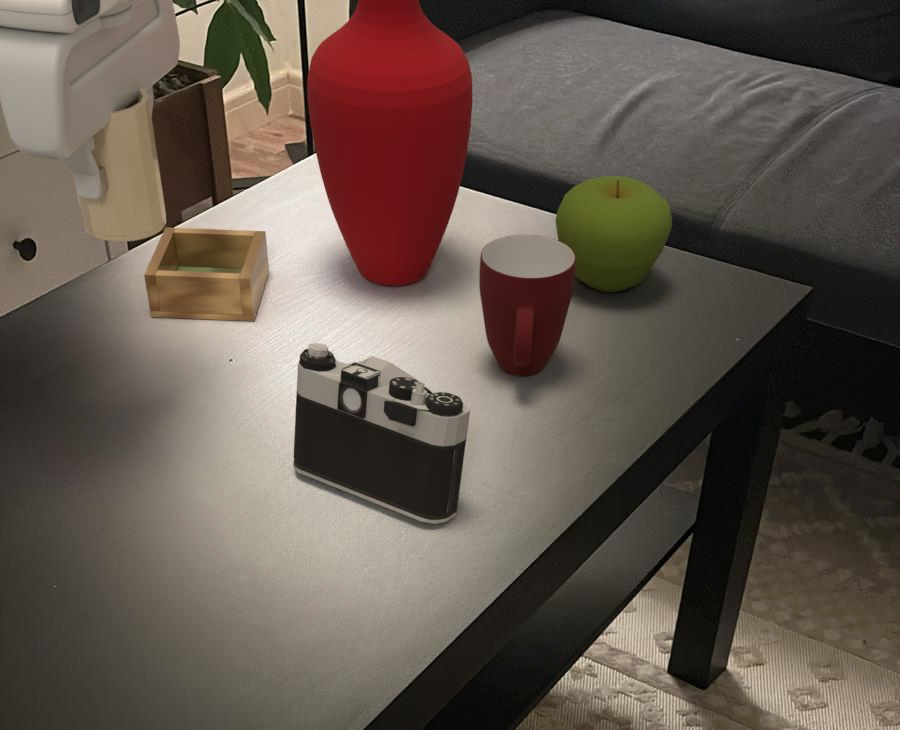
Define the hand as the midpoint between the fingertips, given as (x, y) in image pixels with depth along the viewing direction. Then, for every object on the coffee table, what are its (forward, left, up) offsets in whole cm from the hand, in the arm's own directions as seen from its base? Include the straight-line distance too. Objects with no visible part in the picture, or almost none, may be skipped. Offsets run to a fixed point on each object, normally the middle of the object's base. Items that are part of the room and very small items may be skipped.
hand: (116, 174), depth 95 cm
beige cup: (0, 0, -4) cm, 4 cm away
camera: (+21, -8, -19) cm, 30 cm away
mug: (+31, +8, -19) cm, 38 cm away
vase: (+18, +26, -19) cm, 37 cm away
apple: (+39, +25, -19) cm, 50 cm away
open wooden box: (+1, +20, -19) cm, 27 cm away
